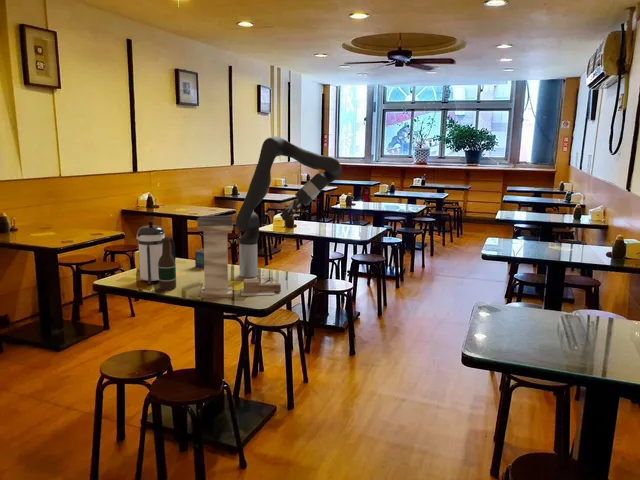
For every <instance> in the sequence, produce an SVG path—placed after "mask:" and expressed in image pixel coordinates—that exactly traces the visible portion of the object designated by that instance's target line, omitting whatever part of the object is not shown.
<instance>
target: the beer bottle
mask: <svg viewBox="0 0 640 480" xmlns="http://www.w3.org/2000/svg"><path fill="white" fill-rule="evenodd" d="M170 238H171V237H169V238H165V237H164V238H163V239H162V256H161V257H160V259H159V262H158V274H159V280H158V288H159V290H161V291H173V290H175V289H176V288H177V274H176V273H177V270H176V269H177V267H176V259H175V260H174V258H173V256H172V255H171V243H170Z"/></svg>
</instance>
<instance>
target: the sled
mask: <svg viewBox="0 0 640 480" xmlns="http://www.w3.org/2000/svg"><path fill="white" fill-rule="evenodd" d="M281 287H282V286H281V283H280V282H275V283H271V282H270V283H260V278H243V288H244V293H259V292H269V291H274V292H281Z"/></svg>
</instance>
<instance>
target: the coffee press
mask: <svg viewBox="0 0 640 480" xmlns="http://www.w3.org/2000/svg"><path fill="white" fill-rule="evenodd" d="M136 232H137V233H136V237H135V239H136V240H137V245H138V246H137V247H138V263H139V276H138V278H137V282H141V281H142V280H143V281H147V285H149V286H150V285H152V283H153V282H154V281H159V274H158V262H159V259H160V257H161V256H162V239H163V238H170V250H171V255H172V256H173V258H174V260H175V261H176V256H177V255H176V244H175V240H174V239H173V238H172V237H168V236H165V234H166V231H165V229H164V228H163V227H162V226H160V225H154V221H153V220H149V221H148V225H143V226H141V227H139V228H138V231H136ZM139 278H140V280H139Z"/></svg>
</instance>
